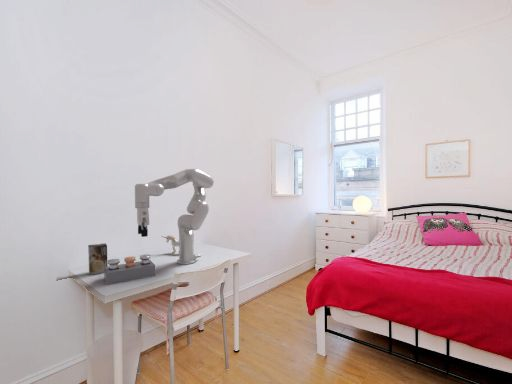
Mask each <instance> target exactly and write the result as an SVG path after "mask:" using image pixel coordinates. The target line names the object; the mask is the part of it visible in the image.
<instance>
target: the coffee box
mask: <svg viewBox="0 0 512 384" xmlns="http://www.w3.org/2000/svg"><path fill="white" fill-rule="evenodd" d="M87 249H88V274H89V276H90V275H97V274H102V273H104V267H107V266H109V264H108V245H107V243H106V242H105V243H95V244H88V246H87Z"/></svg>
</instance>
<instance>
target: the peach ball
mask: <svg viewBox="0 0 512 384" xmlns="http://www.w3.org/2000/svg"><path fill="white" fill-rule="evenodd" d="M136 260H137V259H136V256H126V257H124V262H125V264H126V268H128V267H134V262H135V261H136Z"/></svg>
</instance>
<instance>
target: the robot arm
mask: <svg viewBox="0 0 512 384" xmlns="http://www.w3.org/2000/svg"><path fill="white" fill-rule="evenodd" d="M191 182H192V186H193V188H194V193H193V195H192V197H191V198H190V201H189V203H188V205H187V207H186V212H187V213H188V214H182V215H180V216H179V217H178V218H177V227H178V241H179V246H178V259H177V260H176V263H177V264H178V265H191V264H194V263H196V262H197V258H201V257H202V255H201V254H196V253H195V234H194V231H198V230H199V229H201V228H202V225H203V224H204V222H205V219H206V218H207V215H208V213H209V204H208V203H207V202H206V201H205V200H206V197H207V193H206V189H211V188H212V187H213V186H214V178H213V177H212V176H210V175H208V174H207V173H205V172H204V171H202V170H200V169H197V168H187V169H184V170H181V171H179V172H176V173H174V174H171V175H167V176H164V177H161V178H158V179H155V180H153V181H150V182H147V183H135V185H134V209H136V218H137V219H136V222H137V224H138V225H137V227H138V228H137V234H138V235H141V237H145V238H146V237H148V235H149V234H148V232H149V231H148V230H149V229H148V226H149V225H150V214H149V213H150V212H149V208H150V197H160V196H161V195H163V194H164V192H165V190H172V189H173V190H174V189H177V188H179V187H181V186H183V185H187V184H188V183H191Z"/></svg>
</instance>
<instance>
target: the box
mask: <svg viewBox="0 0 512 384" xmlns="http://www.w3.org/2000/svg"><path fill="white" fill-rule="evenodd" d="M154 276H156V264H155V263H154V262H153V261H152V260H151V259H149V264H147V265H141V260H140V261H136V262H135V261H134V267H128V268H126V263H122V264H120V263H119V264H118V269H116V270H110V265H108V266H107V267H104V275H103V277H104V281H105V283H106V285H112V284H119V283H123V282H128V281H134V280H139V279H143V278H145V279H146V278H150V277H154Z"/></svg>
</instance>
